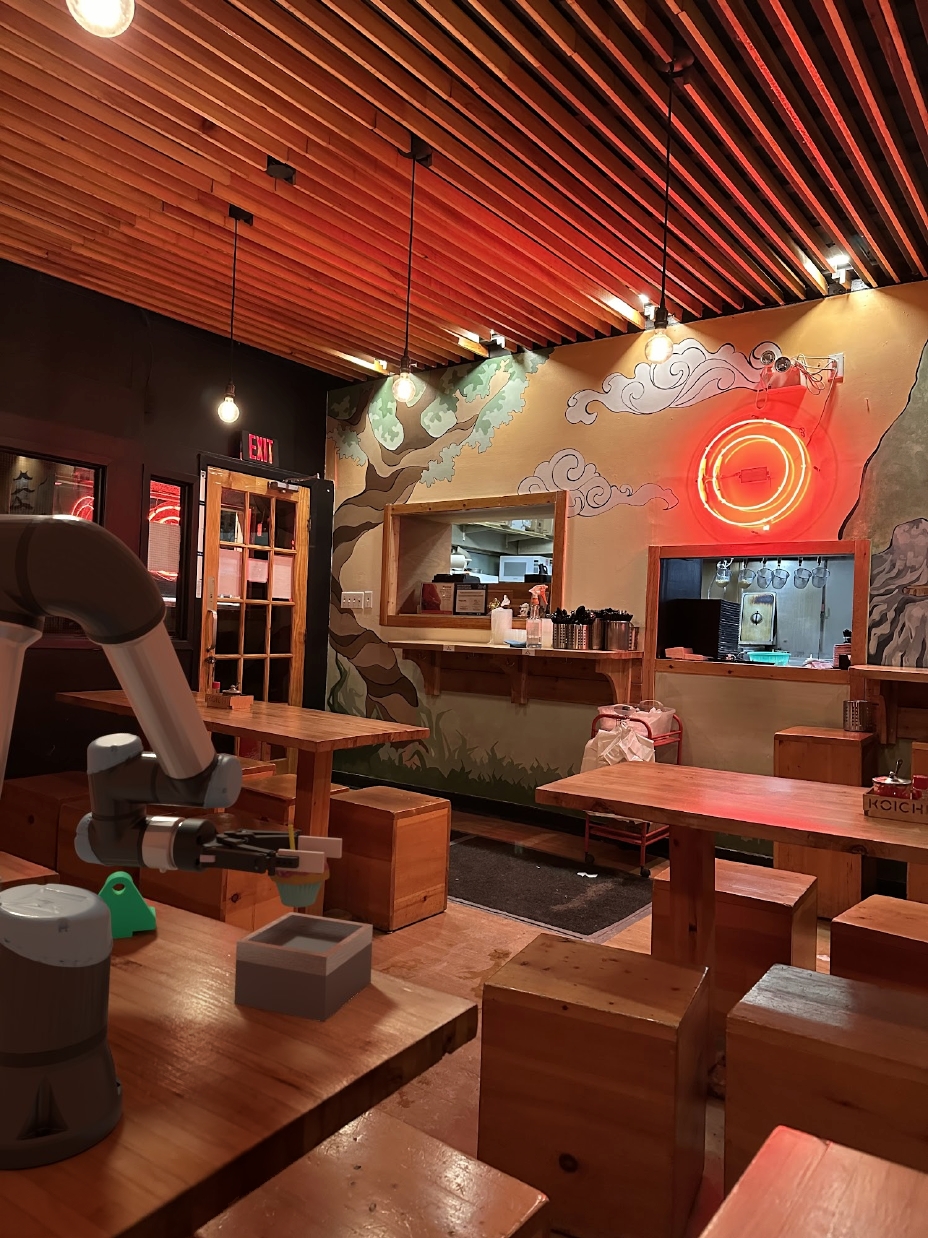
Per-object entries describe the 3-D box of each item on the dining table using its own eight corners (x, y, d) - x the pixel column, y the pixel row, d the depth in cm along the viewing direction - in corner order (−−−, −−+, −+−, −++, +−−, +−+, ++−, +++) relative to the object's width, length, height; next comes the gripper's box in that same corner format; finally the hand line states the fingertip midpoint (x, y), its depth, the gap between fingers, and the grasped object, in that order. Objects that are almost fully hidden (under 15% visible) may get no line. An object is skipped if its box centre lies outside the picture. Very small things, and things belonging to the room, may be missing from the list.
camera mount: (154, 921, 150) (156, 862, 150) (155, 935, 143) (157, 874, 143) (79, 927, 145) (82, 867, 146) (77, 943, 138) (79, 879, 139)
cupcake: (289, 916, 116) (293, 827, 116) (255, 900, 122) (259, 816, 122) (340, 903, 122) (343, 819, 122) (305, 889, 128) (309, 809, 128)
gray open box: (324, 1022, 112) (326, 976, 113) (234, 1003, 117) (236, 960, 117) (370, 982, 126) (372, 942, 126) (288, 967, 130) (289, 928, 130)
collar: (326, 976, 113) (326, 957, 113) (236, 960, 117) (236, 941, 117) (372, 942, 126) (372, 924, 126) (289, 928, 130) (290, 912, 131)
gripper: (212, 853, 135) (351, 863, 131) (145, 889, 115) (307, 903, 111) (214, 805, 135) (353, 814, 132) (147, 833, 115) (310, 845, 111)
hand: (332, 855), depth 121 cm, fingers closed on cupcake, 8 cm apart
